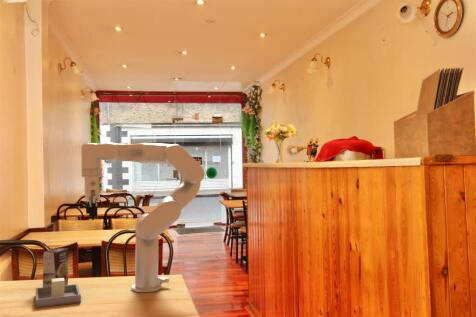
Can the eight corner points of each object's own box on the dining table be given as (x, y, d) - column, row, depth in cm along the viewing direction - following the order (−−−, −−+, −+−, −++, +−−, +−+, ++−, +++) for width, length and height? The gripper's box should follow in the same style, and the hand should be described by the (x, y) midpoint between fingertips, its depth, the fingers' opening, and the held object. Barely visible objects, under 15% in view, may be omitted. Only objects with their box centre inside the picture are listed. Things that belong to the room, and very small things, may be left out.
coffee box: (56, 291, 183) (56, 252, 183) (42, 290, 184) (42, 251, 184) (68, 285, 192) (69, 248, 192) (55, 284, 193) (55, 247, 193)
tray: (77, 291, 184) (77, 284, 184) (80, 302, 170) (80, 294, 170) (35, 295, 177) (35, 288, 177) (35, 308, 163) (35, 299, 163)
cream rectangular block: (63, 295, 176) (63, 277, 176) (64, 298, 172) (64, 280, 172) (51, 296, 175) (51, 278, 175) (51, 300, 170) (51, 281, 170)
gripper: (104, 173, 177) (104, 217, 177) (97, 172, 192) (98, 212, 192) (84, 174, 173) (84, 218, 174) (79, 172, 189) (79, 213, 189)
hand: (91, 214), depth 183 cm, fingers open, 9 cm apart
